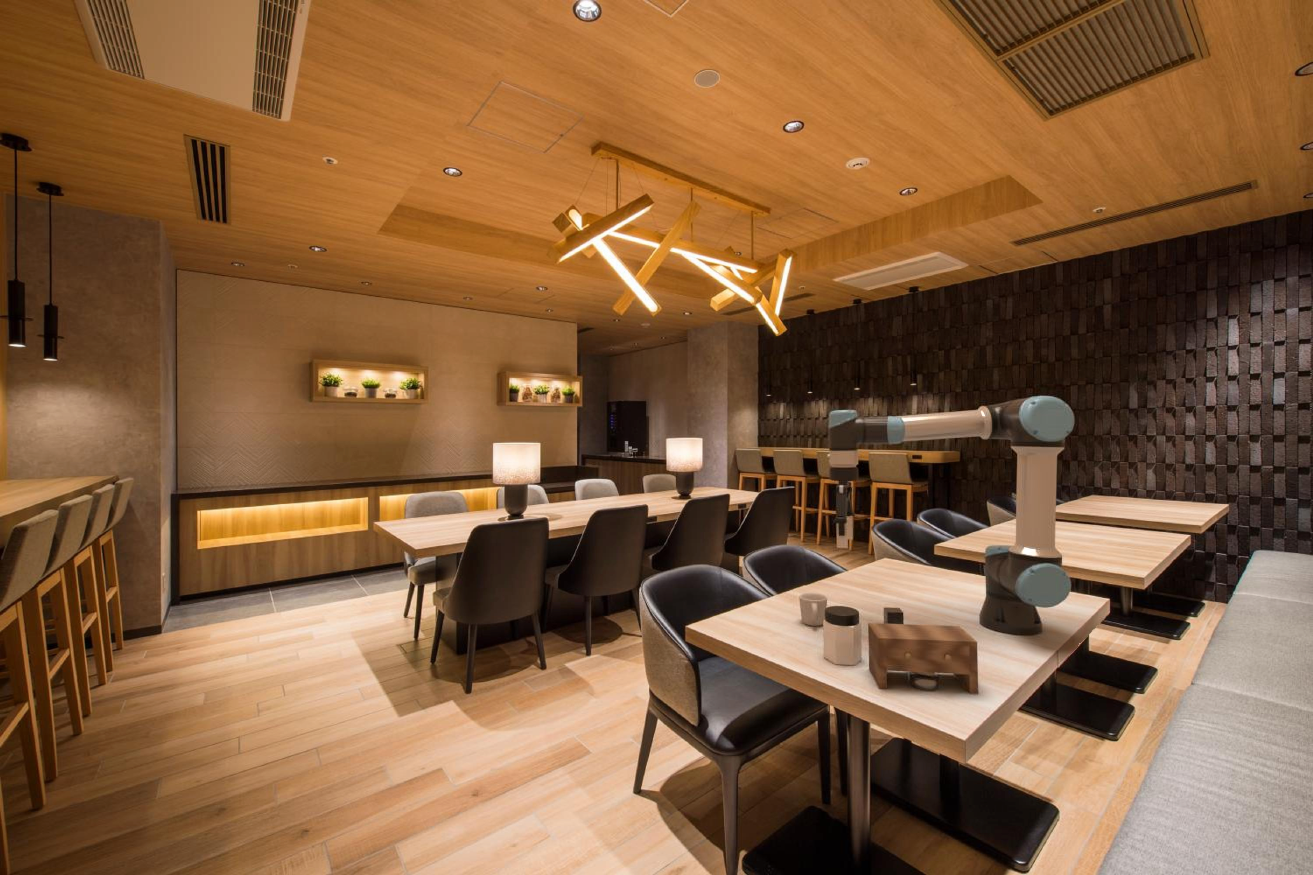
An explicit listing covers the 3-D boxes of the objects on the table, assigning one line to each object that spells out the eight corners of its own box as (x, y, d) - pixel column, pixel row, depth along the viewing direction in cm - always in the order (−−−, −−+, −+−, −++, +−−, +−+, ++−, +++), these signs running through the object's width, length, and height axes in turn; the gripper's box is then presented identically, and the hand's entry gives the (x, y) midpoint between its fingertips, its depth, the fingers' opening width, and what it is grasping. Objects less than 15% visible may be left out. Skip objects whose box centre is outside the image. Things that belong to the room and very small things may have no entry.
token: (933, 680, 125) (933, 669, 125) (942, 692, 119) (942, 681, 119) (905, 679, 125) (905, 668, 125) (913, 691, 120) (913, 679, 120)
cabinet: (960, 673, 127) (959, 626, 127) (979, 695, 117) (978, 643, 117) (869, 669, 131) (868, 622, 131) (879, 690, 120) (878, 639, 120)
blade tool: (899, 641, 148) (899, 607, 148) (921, 671, 130) (921, 633, 130) (884, 640, 149) (883, 607, 149) (903, 670, 130) (903, 632, 130)
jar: (833, 649, 143) (832, 603, 143) (865, 657, 138) (864, 608, 138) (819, 660, 136) (818, 611, 137) (852, 668, 131) (851, 618, 131)
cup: (830, 632, 157) (829, 603, 157) (800, 630, 158) (800, 602, 158) (826, 619, 167) (825, 593, 167) (799, 618, 169) (798, 592, 169)
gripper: (835, 464, 166) (836, 535, 166) (823, 468, 143) (824, 550, 143) (861, 464, 163) (863, 536, 162) (853, 468, 140) (855, 552, 140)
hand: (845, 543), depth 153 cm, fingers open, 13 cm apart
